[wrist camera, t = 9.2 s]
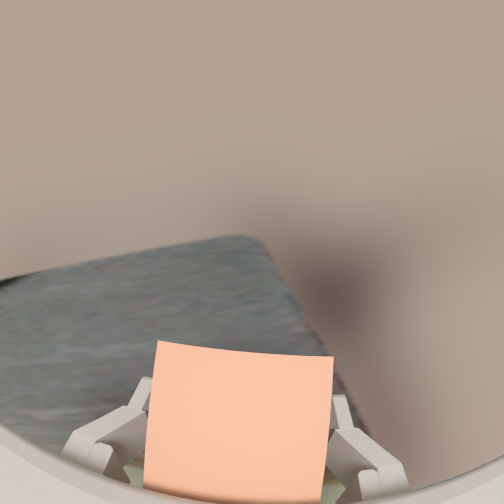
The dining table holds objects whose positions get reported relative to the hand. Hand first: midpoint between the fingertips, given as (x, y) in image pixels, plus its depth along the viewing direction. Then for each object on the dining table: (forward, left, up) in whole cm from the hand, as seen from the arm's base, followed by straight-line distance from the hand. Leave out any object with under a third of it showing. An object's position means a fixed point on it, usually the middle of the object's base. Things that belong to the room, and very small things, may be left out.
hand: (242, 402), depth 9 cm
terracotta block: (-1, 0, -5) cm, 5 cm away
